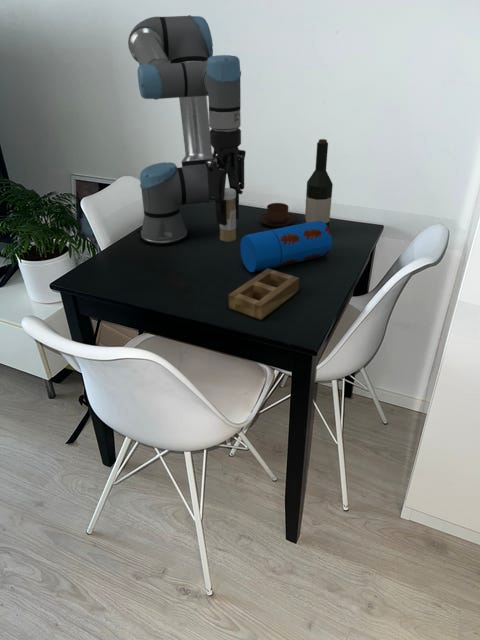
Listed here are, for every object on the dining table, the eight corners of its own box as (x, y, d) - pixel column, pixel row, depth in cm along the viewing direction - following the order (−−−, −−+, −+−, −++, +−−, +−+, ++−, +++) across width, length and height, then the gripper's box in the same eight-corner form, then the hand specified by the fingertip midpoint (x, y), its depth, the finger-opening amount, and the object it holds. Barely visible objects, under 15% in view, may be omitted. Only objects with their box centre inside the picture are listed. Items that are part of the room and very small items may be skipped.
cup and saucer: (262, 216, 184) (262, 200, 181) (295, 217, 183) (295, 201, 180) (258, 229, 174) (258, 211, 171) (293, 230, 173) (294, 213, 170)
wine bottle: (330, 228, 174) (338, 137, 158) (326, 237, 167) (333, 144, 151) (306, 225, 176) (312, 136, 160) (301, 234, 170) (306, 142, 154)
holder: (228, 308, 130) (228, 294, 128) (267, 281, 142) (267, 268, 140) (261, 320, 125) (261, 306, 123) (298, 290, 137) (299, 277, 135)
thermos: (336, 245, 148) (260, 262, 139) (321, 261, 157) (249, 278, 148) (322, 213, 150) (246, 228, 141) (308, 231, 160) (236, 246, 151)
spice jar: (216, 239, 137) (214, 190, 129) (227, 234, 139) (226, 186, 132) (229, 243, 134) (227, 194, 127) (240, 238, 137) (239, 189, 130)
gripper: (214, 137, 114) (218, 234, 126) (259, 123, 126) (258, 213, 138) (189, 133, 117) (195, 228, 130) (234, 120, 129) (236, 208, 142)
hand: (227, 220), depth 134 cm, fingers closed on spice jar, 5 cm apart
